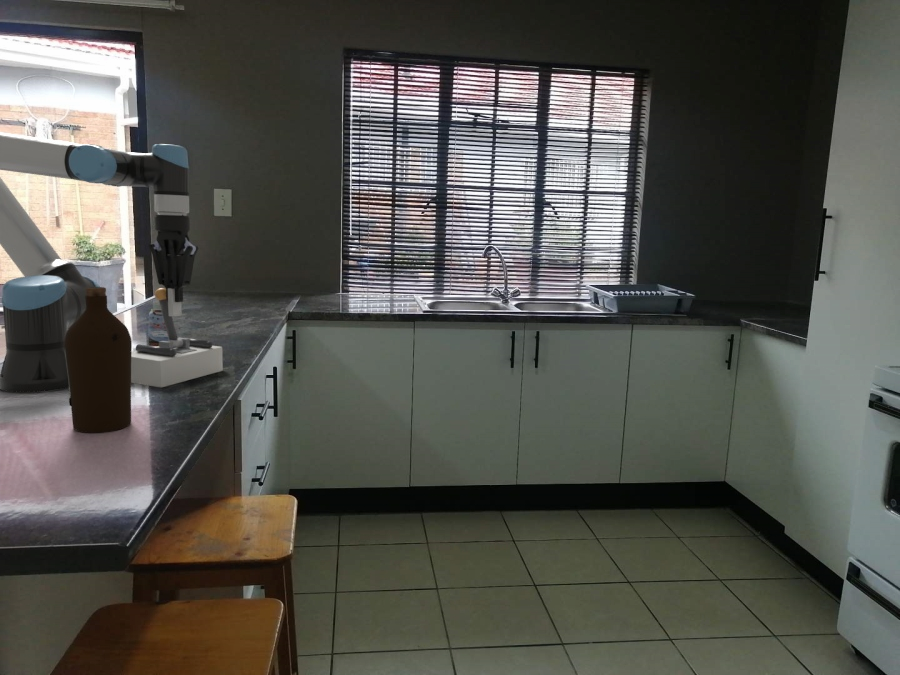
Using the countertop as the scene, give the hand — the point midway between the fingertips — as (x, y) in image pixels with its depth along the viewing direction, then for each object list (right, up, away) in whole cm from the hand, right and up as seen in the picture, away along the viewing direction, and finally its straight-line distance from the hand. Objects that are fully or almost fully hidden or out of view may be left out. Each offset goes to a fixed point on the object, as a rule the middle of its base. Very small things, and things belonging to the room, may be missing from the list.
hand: (175, 315), depth 160 cm
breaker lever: (-1, -7, +1) cm, 7 cm away
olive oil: (+2, -21, -37) cm, 43 cm away
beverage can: (-16, -9, +29) cm, 35 cm away
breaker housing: (-1, -14, +3) cm, 14 cm away
